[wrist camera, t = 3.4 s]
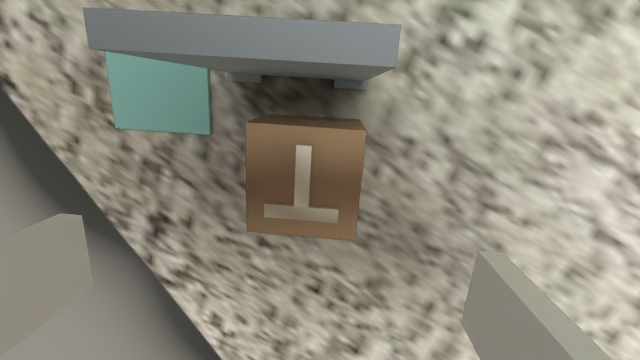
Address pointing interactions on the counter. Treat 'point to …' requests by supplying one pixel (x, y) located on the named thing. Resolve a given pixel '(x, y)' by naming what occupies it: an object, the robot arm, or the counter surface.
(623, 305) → the counter surface
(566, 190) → the counter surface
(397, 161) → the counter surface
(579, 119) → the counter surface
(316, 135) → the cube
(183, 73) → the mat
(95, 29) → the screen
